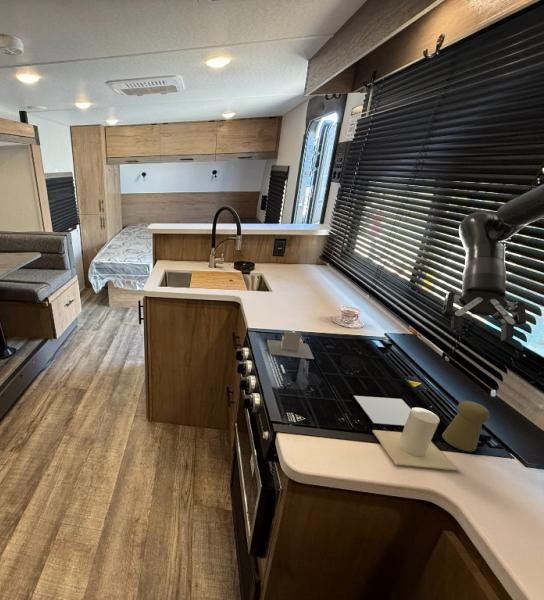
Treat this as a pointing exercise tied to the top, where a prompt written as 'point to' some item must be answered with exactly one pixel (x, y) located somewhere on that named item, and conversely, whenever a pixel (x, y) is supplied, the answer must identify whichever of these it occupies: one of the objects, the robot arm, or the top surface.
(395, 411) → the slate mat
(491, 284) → the robot arm
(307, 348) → the architectural model
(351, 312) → the teacup
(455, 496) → the top surface
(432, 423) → the beige cylinder
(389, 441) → the cream mat
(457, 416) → the cork
